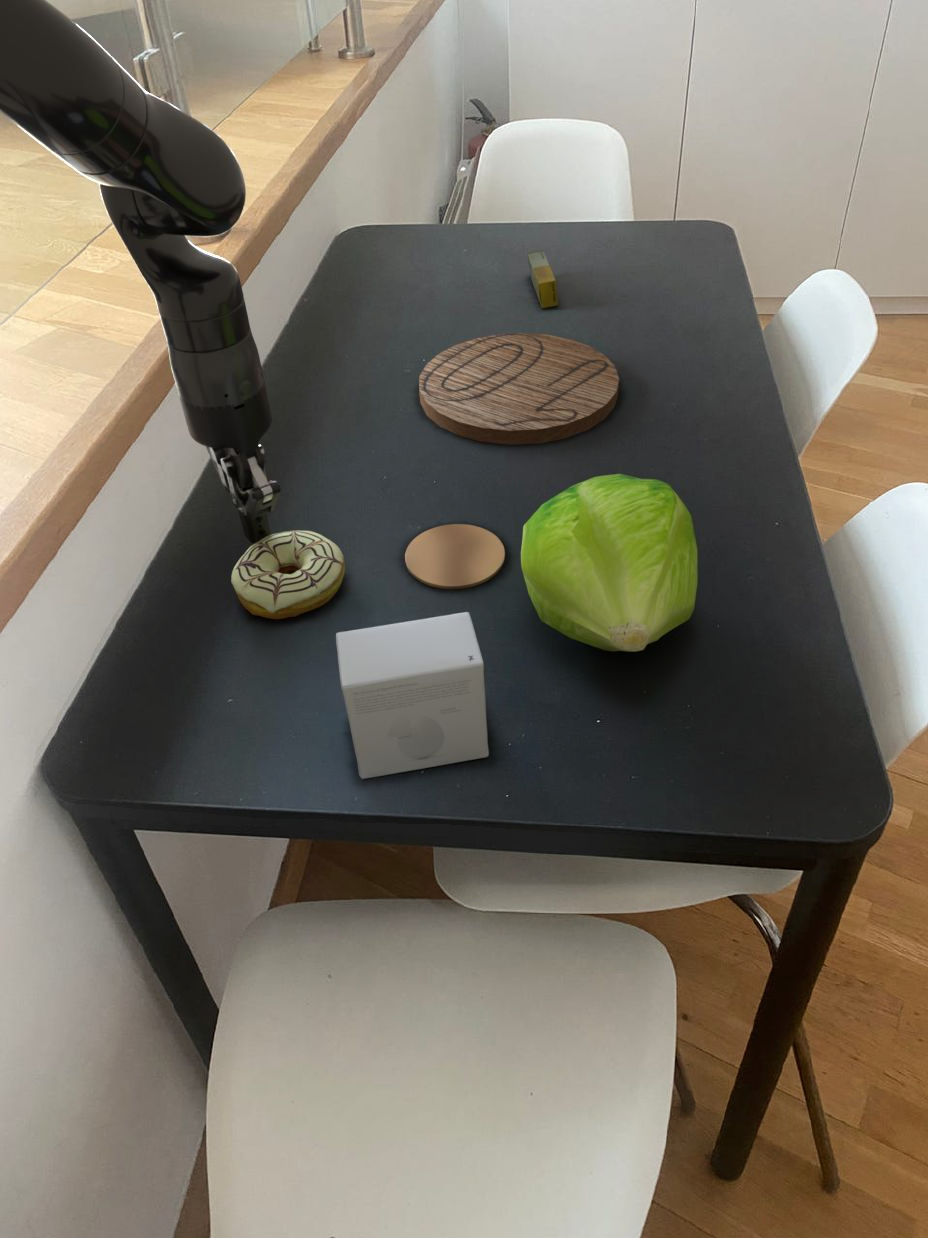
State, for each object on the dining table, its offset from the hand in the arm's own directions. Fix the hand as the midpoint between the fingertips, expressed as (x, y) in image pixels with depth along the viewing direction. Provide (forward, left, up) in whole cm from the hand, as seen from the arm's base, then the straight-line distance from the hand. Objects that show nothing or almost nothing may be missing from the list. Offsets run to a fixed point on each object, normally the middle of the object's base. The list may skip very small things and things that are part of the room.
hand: (258, 537), depth 92 cm
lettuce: (+27, -24, -2) cm, 36 cm away
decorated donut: (+2, -7, -2) cm, 7 cm away
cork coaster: (+18, -9, -2) cm, 20 cm away
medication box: (+52, +45, -2) cm, 69 cm away
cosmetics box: (+7, -30, -2) cm, 30 cm away
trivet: (+37, +19, -2) cm, 42 cm away
